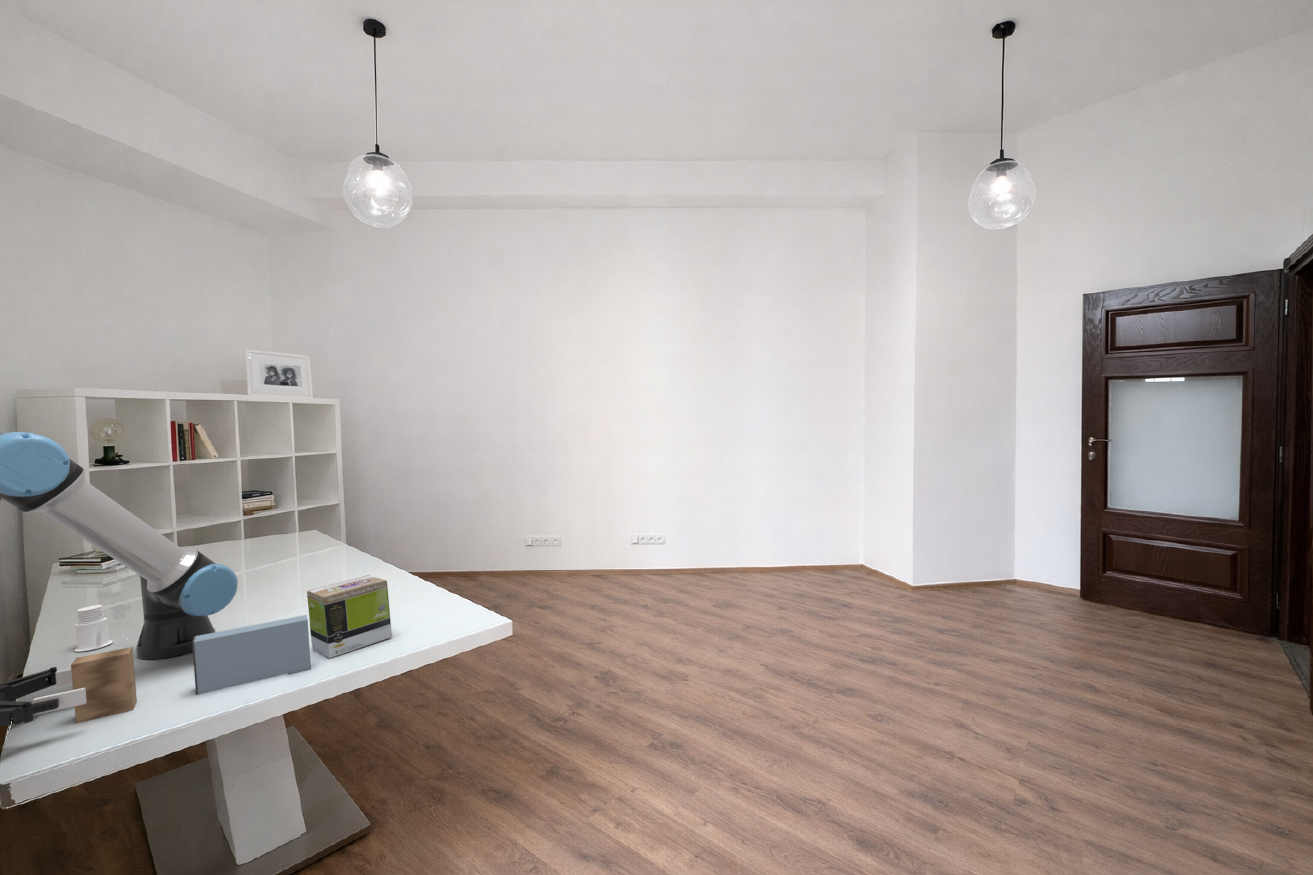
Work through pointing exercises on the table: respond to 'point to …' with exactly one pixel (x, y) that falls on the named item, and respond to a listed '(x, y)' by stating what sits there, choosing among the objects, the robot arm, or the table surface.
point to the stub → (105, 683)
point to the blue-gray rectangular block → (250, 653)
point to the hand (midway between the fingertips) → (94, 681)
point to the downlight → (91, 629)
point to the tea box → (349, 615)
